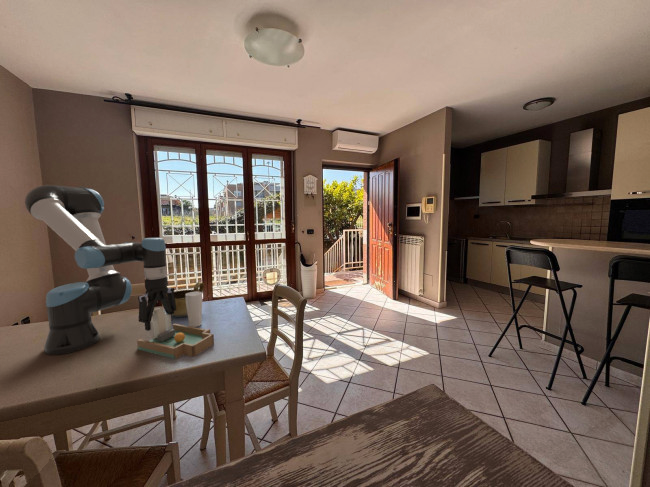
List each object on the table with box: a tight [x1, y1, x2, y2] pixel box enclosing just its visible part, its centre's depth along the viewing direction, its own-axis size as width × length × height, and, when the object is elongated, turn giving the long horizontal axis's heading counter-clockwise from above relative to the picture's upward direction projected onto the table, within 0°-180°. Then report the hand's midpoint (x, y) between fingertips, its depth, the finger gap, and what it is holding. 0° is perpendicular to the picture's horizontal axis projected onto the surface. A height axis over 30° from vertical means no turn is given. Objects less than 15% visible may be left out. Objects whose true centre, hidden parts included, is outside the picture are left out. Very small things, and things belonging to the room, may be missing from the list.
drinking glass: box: [185, 292, 203, 328], centre depth 118 cm, size 7×7×15 cm
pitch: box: [136, 323, 215, 360], centre depth 100 cm, size 24×16×4 cm, turn 70°
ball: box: [174, 333, 185, 342], centre depth 100 cm, size 4×4×4 cm
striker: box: [152, 307, 175, 342], centre depth 103 cm, size 6×6×12 cm
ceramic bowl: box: [166, 281, 206, 318], centre depth 130 cm, size 22×17×15 cm
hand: (159, 333), depth 104 cm, fingers open, 7 cm apart
